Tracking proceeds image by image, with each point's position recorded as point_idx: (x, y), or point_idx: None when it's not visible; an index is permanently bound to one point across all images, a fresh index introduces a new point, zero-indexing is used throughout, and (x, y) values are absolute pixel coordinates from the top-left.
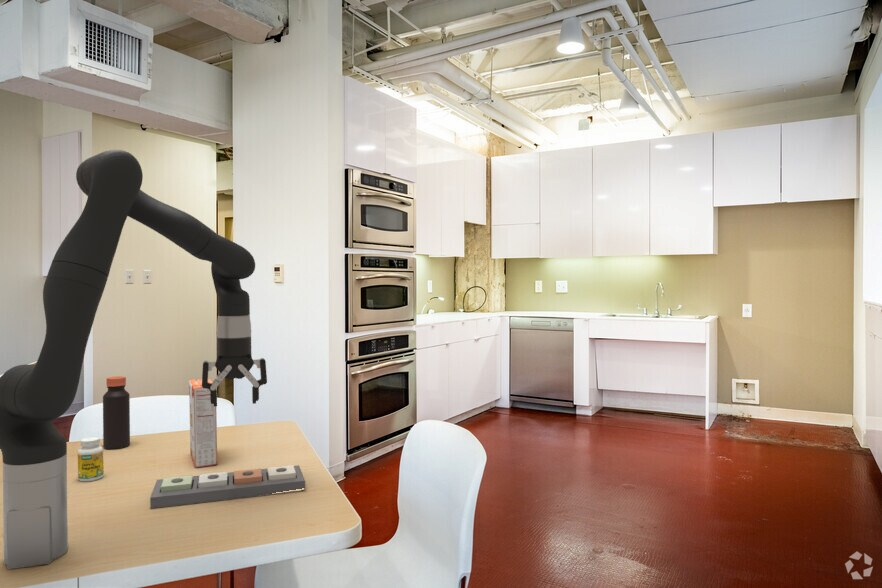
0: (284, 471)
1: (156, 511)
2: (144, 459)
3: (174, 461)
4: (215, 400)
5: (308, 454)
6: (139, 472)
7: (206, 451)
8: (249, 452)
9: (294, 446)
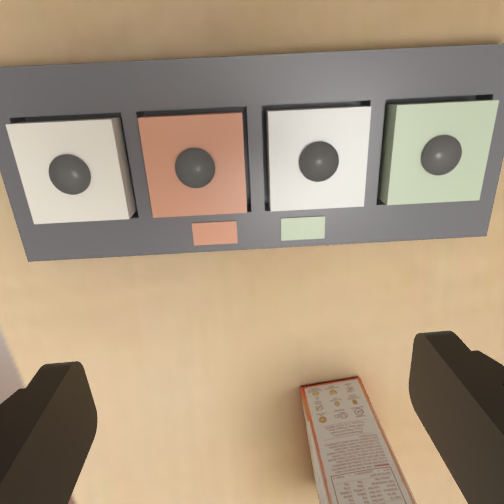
0: (55, 155)
1: (486, 10)
2: None
3: (407, 436)
4: (464, 365)
5: None
6: None
7: (339, 414)
8: (217, 463)
9: (95, 485)
